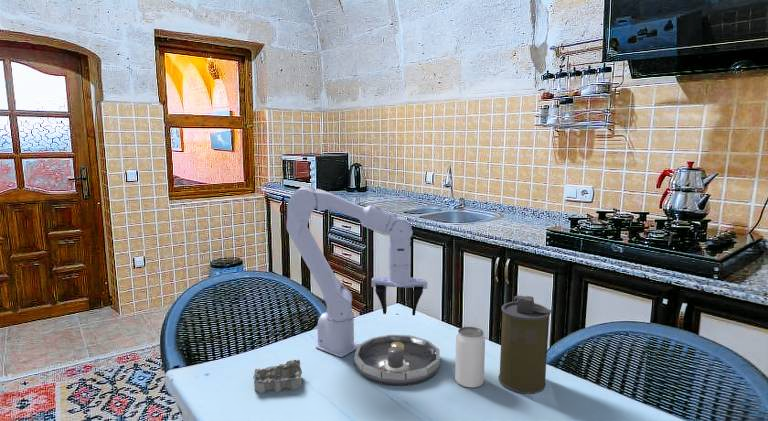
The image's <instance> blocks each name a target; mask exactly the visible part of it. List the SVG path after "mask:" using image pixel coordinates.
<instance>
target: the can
mask: <svg viewBox="0 0 768 421" xmlns="http://www.w3.org/2000/svg"><path fill="white" fill-rule="evenodd" d="M457 332H458V333H457V335H455V336H456V337H455V361H454V363H455V365H454V366H455V367H454V368H455V369H454V375H455V376H454V377H455V378H454V379H455V381H456V383H457V384H458V385H459V386H461V387H464V388H466V389H467V388H469V389H474V388H476V389H477V388H479V387H481V386H482V385H483V384H484V381H485V361H486V360H485V357H486V356H485V355H486V353H485V352H486V338H485V336H484V331H483V329H481V328H478V327H476V326H475V327H474V326H462V327H460V328H459V329H458V330H457Z"/></svg>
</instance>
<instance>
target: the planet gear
mask: <svg viewBox="0 0 768 421" xmlns="http://www.w3.org/2000/svg"><path fill="white" fill-rule="evenodd" d="M408 369H409V363H406V362H405V360H404V359H403V349H402V348H400V347H391V348H389V349H388V360H385V361H384V364H382V370H385V371H396V372H408Z"/></svg>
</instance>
